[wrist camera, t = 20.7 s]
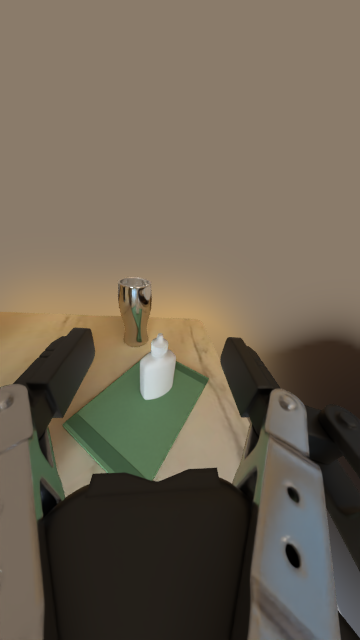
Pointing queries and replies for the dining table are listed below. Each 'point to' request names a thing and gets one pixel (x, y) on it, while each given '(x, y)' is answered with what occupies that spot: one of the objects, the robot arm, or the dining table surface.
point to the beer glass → (135, 309)
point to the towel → (135, 422)
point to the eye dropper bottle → (157, 369)
